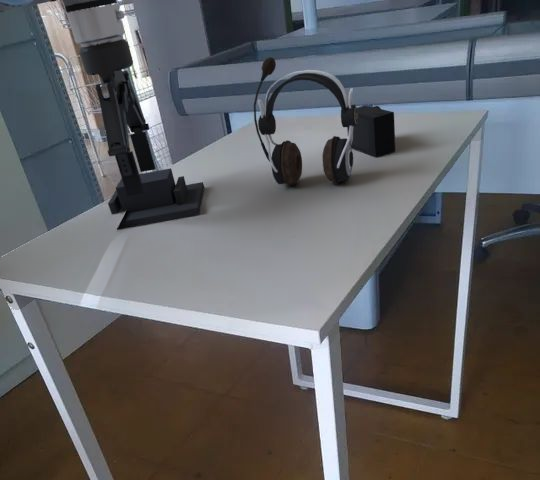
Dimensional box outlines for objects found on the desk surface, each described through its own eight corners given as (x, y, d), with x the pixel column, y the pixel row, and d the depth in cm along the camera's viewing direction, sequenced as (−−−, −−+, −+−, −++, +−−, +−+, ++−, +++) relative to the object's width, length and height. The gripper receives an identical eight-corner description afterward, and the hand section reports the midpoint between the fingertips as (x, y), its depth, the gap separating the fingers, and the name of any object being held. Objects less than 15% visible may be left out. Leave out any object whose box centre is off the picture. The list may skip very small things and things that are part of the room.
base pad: (95, 233, 92) (87, 212, 90) (112, 205, 104) (105, 186, 102) (199, 214, 91) (193, 193, 89) (204, 188, 103) (199, 168, 101)
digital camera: (401, 150, 101) (400, 109, 97) (376, 157, 100) (373, 117, 96) (372, 140, 109) (370, 103, 105) (348, 147, 108) (345, 110, 104)
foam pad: (123, 213, 95) (115, 187, 92) (129, 201, 100) (121, 177, 97) (174, 204, 94) (167, 178, 92) (177, 192, 99) (171, 168, 96)
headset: (258, 194, 94) (235, 66, 83) (272, 179, 100) (252, 56, 89) (356, 189, 88) (345, 49, 77) (365, 173, 94) (356, 41, 83)
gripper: (108, 45, 72) (153, 201, 84) (139, 31, 92) (171, 158, 105) (54, 55, 72) (106, 209, 84) (96, 39, 93) (133, 165, 105)
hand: (142, 181), depth 95 cm, fingers open, 13 cm apart
